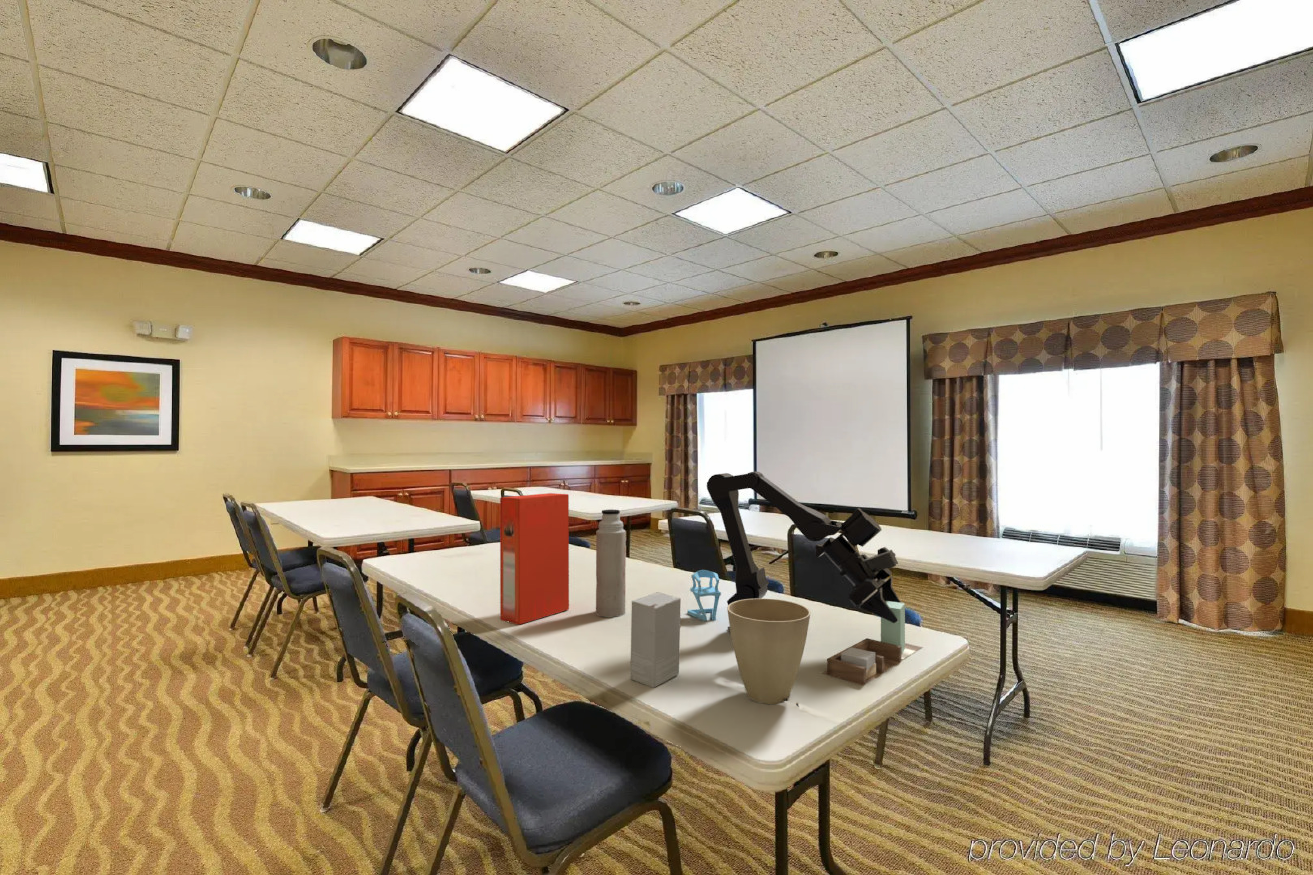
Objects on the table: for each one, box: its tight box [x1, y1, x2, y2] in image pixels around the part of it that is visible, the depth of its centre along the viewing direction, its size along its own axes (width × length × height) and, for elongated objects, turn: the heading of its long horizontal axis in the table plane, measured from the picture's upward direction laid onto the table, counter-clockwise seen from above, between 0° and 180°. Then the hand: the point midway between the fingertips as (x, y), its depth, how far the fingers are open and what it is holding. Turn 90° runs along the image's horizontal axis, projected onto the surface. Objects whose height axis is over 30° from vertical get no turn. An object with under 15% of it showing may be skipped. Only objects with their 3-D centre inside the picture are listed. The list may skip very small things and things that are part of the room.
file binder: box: [499, 492, 570, 625], centre depth 162 cm, size 8×17×32 cm, turn 143°
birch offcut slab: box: [866, 663, 876, 680], centre depth 118 cm, size 5×5×2 cm
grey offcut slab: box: [841, 646, 875, 670], centre depth 118 cm, size 5×5×2 cm
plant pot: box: [726, 598, 811, 705], centre depth 110 cm, size 15×15×16 cm
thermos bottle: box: [595, 509, 627, 618], centre depth 164 cm, size 8×8×28 cm
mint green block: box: [880, 601, 906, 653], centre depth 131 cm, size 6×4×10 cm
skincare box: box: [629, 591, 682, 688], centre depth 118 cm, size 8×7×16 cm
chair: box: [687, 569, 722, 622], centre depth 161 cm, size 8×8×12 cm
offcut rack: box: [821, 638, 924, 686], centre depth 126 cm, size 30×8×4 cm, turn 136°
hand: (899, 616), depth 130 cm, fingers open, 9 cm apart
